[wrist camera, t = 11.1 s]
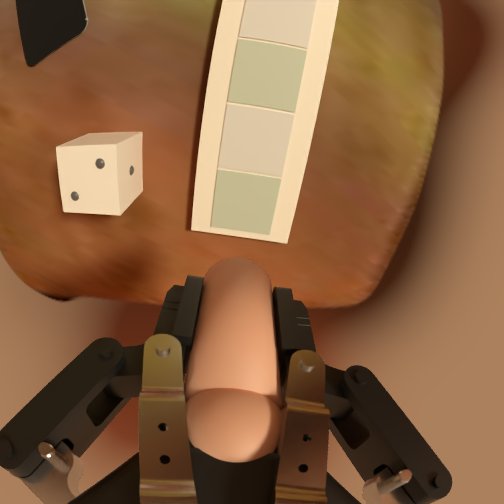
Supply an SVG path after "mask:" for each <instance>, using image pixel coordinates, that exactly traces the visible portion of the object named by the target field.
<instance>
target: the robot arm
mask: <svg viewBox="0 0 504 504" xmlns="http://www.w3.org/2000/svg"><path fill="white" fill-rule="evenodd" d="M203 284H204V277H197V276H190V275H188V276H187V279H186V282H185V286H179V285H174V286H173V287H172V288H171V289H170V290H169V291H168V292H167V294H166V297H165V301H164V303H163V306H162V310H161V313H160V316H159V319H158V322H157V325H156V329H155V332H154V334H153V336H152V337H150V338H149V339H148V340H147V341H146V343H144V344H142V345H138V346H130V347H122V345H121V344H120V343H119V342H118V341H117V340H115V339H113V338H100V339H97V340H95V341H94V342H93V343H91V344H90V345H89V346H88V347H87V348H86V349H85V350H84V351H83V352H81V353H80V355H78V356H77V357H76V358H75V359H74V360H73V361H72V362H71V363H70V364H68V365H67V366H66V367H65V368H64V369H63V370H62V371H61V372H60V373H59V374H58V375H57V376H56V377H55V378H54V379H52V381H51V382H49V383H48V384H47V385H46V386H45V387H44V388H43V389H42V390H41V391H40V392H39V393H38V394H37V395H36V396H35V397H34V398H33V399H32V400H31V401H30V402H29V403H28V404H27V405H26V406H25V407H24V408H23V409H21V411H20V412H18V413H17V414H16V415H15V416H14V417H13V418H12V419H11V420H10V421H9V422H8V423H7V424H6V426H5V427H3V429H2V430H1V431H0V466H1V467H3V468H4V469H6V470H7V471H9V472H10V473H11V474H12V475H14V476H15V477H17V478H18V479H20V480H22V481H23V482H24V484H25V485H26V486H27V487H28V488H29V489H30V490H31V491H32V492H33V493H34V494H35V495H36V496H37V497H38V498H39V499H40V500H41V501H42V502H43V503H44V504H361V503H360V502H359V501H358V500H357V499H355V498H354V497H353V496H352V495H351V494H350V493H349V492H348V491H347V490H346V489H345V488H344V487H342V486H341V485H340V484H339V483H338V482H337V481H336V480H335V479H334V478H333V477H332V476H331V475H330V474H329V473H328V472H327V460H328V444H329V429H330V430H331V432H332V434H333V435H334V436H335V438H336V440H337V441H338V443H339V444H340V446H341V447H342V449H343V450H344V452H345V453H346V455H347V456H348V458H349V459H350V461H351V462H352V464H353V465H354V467H355V468H356V470H357V471H358V472H359V474H360V476H361V477H362V479H363V480H364V481H365V484H364V486H363V494H362V496H363V499H364V500H366V504H430V503H432V502H434V501H436V500H439V499H441V498H443V497H445V496H446V495H447V494H448V493H449V492H450V489H451V487H452V477H451V474H450V473H449V471H448V470H447V468H446V467H445V466H444V465H443V464H442V462H441V461H440V459H439V458H438V457H437V455H436V454H435V453H434V452H433V450H432V449H431V447H430V446H429V445H428V444H427V442H426V441H425V440H424V438H423V437H422V436H421V434H420V433H419V432H418V430H417V429H416V428H415V427H414V425H413V424H412V423H411V421H410V420H409V419H408V418H407V416H406V415H405V414H404V412H403V411H402V410H401V409H400V407H399V406H398V405H397V404H396V402H395V401H394V400H393V398H392V397H391V396H390V394H389V393H388V392H387V391H386V390H385V388H384V387H383V386H382V384H381V383H380V382H379V381H378V379H377V378H376V377H375V375H374V374H373V373H372V372H371V371H370V370H369V369H367V368H365V367H363V366H359V365H355V366H351V367H349V368H348V369H347V370H346V371H342V370H339V369H336V368H333V367H330V366H328V365H326V364H325V362H324V360H323V359H322V357H321V356H320V355H319V354H317V353H316V349H315V344H314V339H313V335H312V330H311V327H310V320H309V315H308V311H307V308H306V307H305V306H304V304H303V303H302V302H301V301H297V300H293V294H292V290H291V289H290V288H281V287H274V289H273V293H272V295H273V306H274V316H275V327H276V338H277V350H278V360H279V372H280V384H281V396H282V407H281V413H282V420H281V430H280V438H279V445H278V446H277V448H276V449H275V451H274V452H273V453H269V454H267V455H265V456H263V457H260V458H258V459H255V460H253V461H248V462H227V461H223V460H220V459H217V458H214V457H213V456H211V455H209V454H207V453H205V452H203V451H202V450H200V449H199V448H195V447H194V446H193V445H192V443H191V441H190V440H189V437H188V428H187V417H186V405H185V394H184V384H183V383H184V377H185V373H186V372H187V366H188V360H189V355H190V351H191V349H192V343H193V337H194V332H195V326H196V321H197V316H198V310H199V305H200V300H201V295H202V290H203ZM132 397H139V452H138V453H136V454H135V455H134V456H132V457H131V458H130V459H129V460H127V461H126V462H125V463H123V464H122V465H121V466H119V467H118V468H117V469H116V470H114V471H113V472H111V473H110V474H109V475H107V476H106V477H105V478H103V479H102V480H100V481H99V482H98V483H96V484H95V485H93V486H92V487H90V488H89V489H87V490H86V491H85V492H83V493H82V494H79V491H78V483H79V480H80V479H81V477H82V475H83V464H82V462H81V460H80V459H79V458H80V457H81V455H82V454H83V453H84V452H85V451H86V450H87V449H88V447H89V446H90V445H91V444H92V443H93V442H94V441H95V439H96V438H97V437H98V436H99V435H100V433H101V432H102V431H103V430H104V429H105V428H106V427H107V425H108V424H109V423H110V422H111V421H112V420H113V419H114V417H115V416H116V415H117V414H118V413H119V412H120V411H121V409H122V408H123V407H124V406H125V405H126V404H127V402H128V401H129V400H130V399H131V398H132Z"/></svg>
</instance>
